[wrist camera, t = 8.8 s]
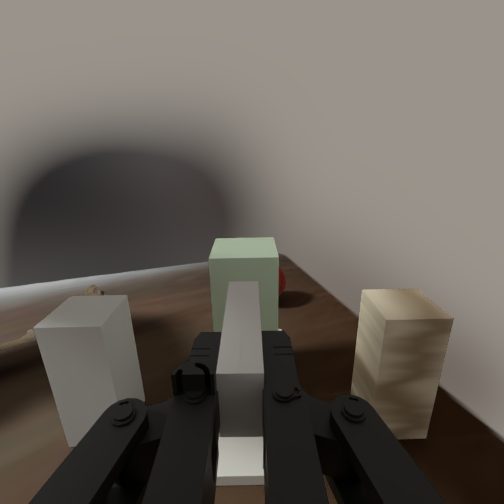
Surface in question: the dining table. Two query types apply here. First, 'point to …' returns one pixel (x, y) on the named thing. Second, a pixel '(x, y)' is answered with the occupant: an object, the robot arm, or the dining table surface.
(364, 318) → the birch block
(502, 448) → the dining table surface
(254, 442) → the rail plate
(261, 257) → the pale green block
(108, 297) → the grey block
